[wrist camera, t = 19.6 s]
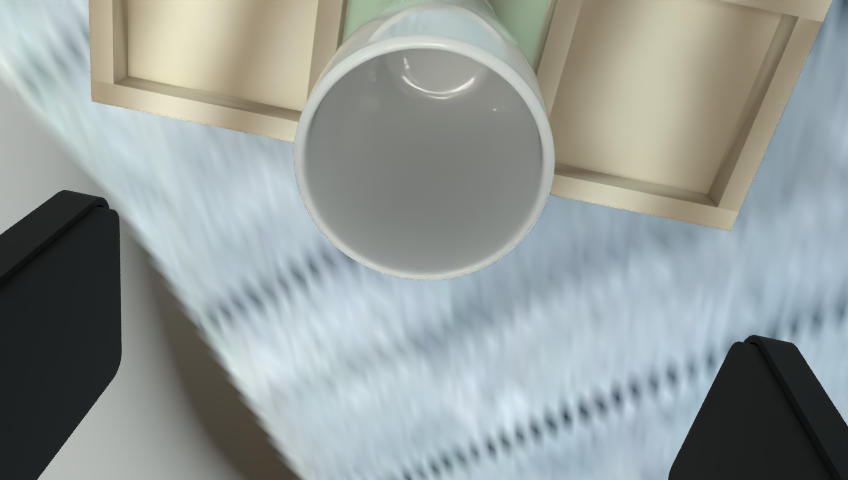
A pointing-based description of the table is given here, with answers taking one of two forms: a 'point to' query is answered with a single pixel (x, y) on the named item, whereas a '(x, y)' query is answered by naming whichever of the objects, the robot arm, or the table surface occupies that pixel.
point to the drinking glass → (426, 142)
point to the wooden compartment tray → (550, 60)
